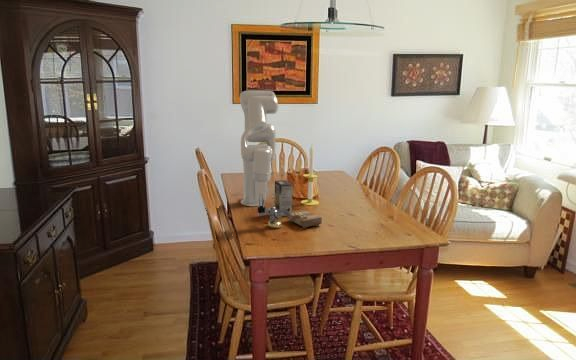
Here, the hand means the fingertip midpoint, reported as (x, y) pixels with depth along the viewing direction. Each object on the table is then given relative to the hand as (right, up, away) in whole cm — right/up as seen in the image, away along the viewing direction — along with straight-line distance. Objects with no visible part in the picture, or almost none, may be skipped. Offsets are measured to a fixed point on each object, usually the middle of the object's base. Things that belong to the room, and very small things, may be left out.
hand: (261, 214), depth 210 cm
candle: (+24, +3, +41) cm, 48 cm away
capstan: (+5, -6, +1) cm, 8 cm away
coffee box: (+10, -1, +22) cm, 24 cm away
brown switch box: (+20, -5, +7) cm, 21 cm away
